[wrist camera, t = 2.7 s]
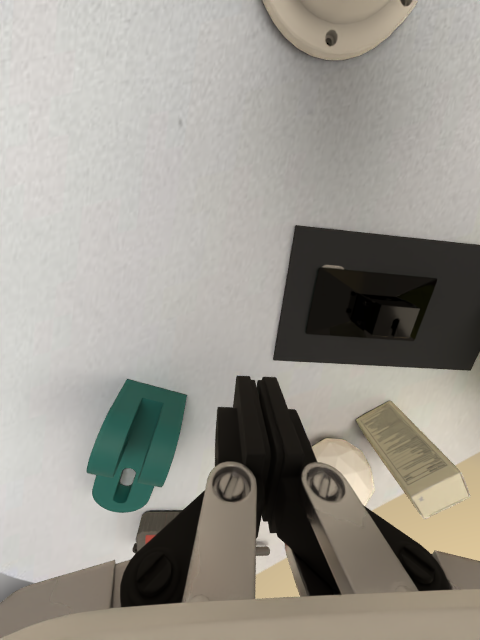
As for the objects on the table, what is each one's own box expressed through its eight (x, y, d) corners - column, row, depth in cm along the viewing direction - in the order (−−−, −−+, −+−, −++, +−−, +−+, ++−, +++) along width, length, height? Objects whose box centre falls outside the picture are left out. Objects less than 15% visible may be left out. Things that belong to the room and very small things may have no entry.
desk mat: (295, 225, 24) (296, 225, 24) (525, 250, 26) (528, 250, 26) (273, 358, 29) (273, 360, 29) (468, 369, 32) (470, 370, 31)
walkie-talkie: (136, 548, 39) (267, 545, 41) (127, 586, 35) (272, 581, 37) (133, 509, 36) (275, 507, 38) (122, 546, 32) (282, 542, 34)
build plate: (304, 332, 28) (318, 353, 24) (318, 263, 25) (337, 272, 21) (412, 340, 29) (445, 361, 25) (436, 274, 26) (478, 286, 22)
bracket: (127, 378, 29) (95, 434, 21) (187, 395, 30) (176, 452, 23) (95, 489, 34) (61, 563, 27) (146, 498, 36) (128, 571, 28)
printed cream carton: (366, 439, 35) (421, 522, 25) (354, 418, 33) (407, 497, 24) (403, 421, 34) (473, 499, 24) (392, 398, 32) (462, 472, 23)
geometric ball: (303, 435, 37) (282, 470, 30) (357, 420, 33) (345, 456, 26) (331, 487, 36) (315, 535, 29) (390, 478, 32) (387, 531, 25)
